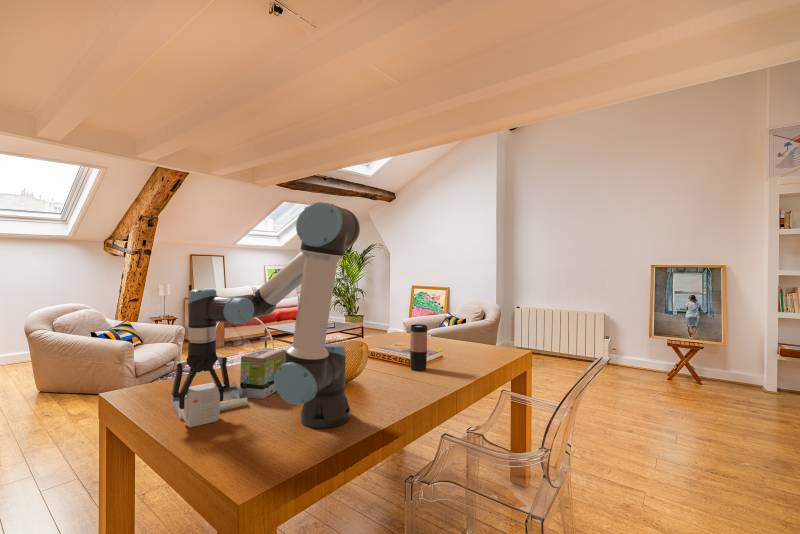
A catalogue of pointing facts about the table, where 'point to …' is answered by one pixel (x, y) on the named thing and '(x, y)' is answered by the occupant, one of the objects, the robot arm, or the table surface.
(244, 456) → the table surface
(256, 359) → the tea box
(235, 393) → the grey shallow tray
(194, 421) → the small box
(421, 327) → the travel mug
